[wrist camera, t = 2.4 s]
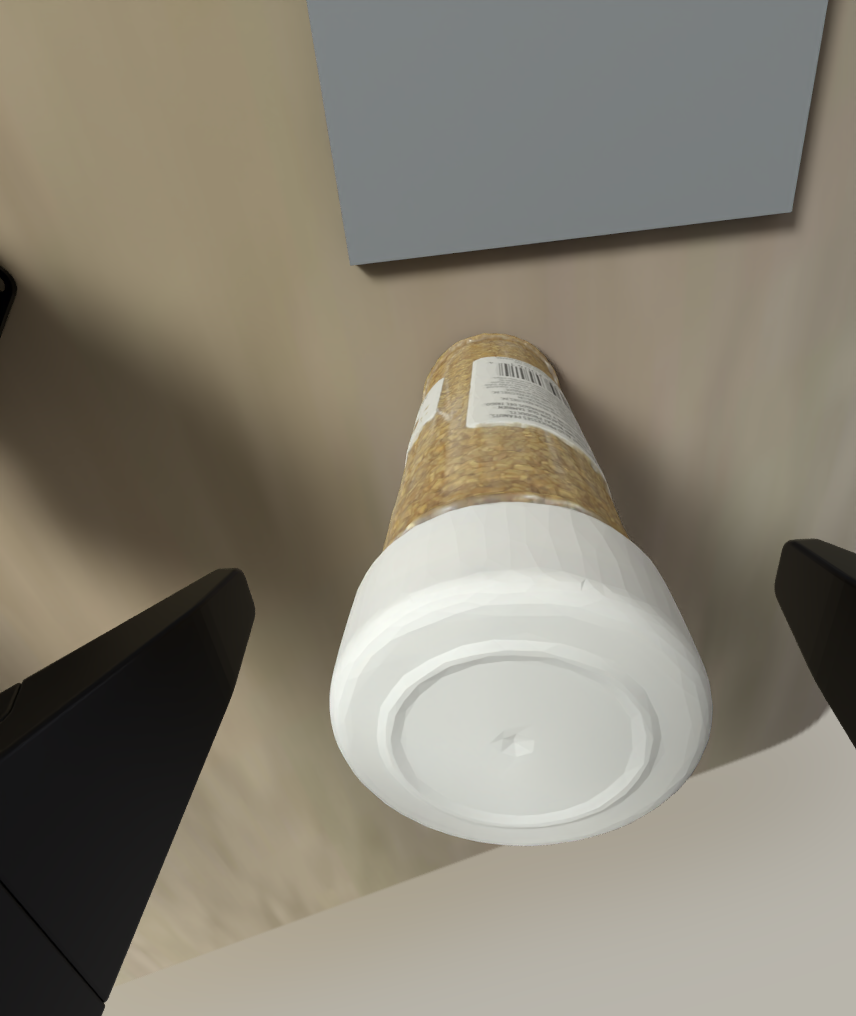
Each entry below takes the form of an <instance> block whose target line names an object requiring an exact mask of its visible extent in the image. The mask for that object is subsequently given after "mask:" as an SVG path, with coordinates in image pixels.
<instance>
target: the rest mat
mask: <svg viewBox="0 0 856 1016" xmlns="http://www.w3.org/2000/svg"><path fill="white" fill-rule="evenodd" d="M306 1H307V7H308V13H309V19H310V25H311V31H312V37H313V43H314V49H315V55H316V61H317V67H318V73H319V79H320V85H321V91H322V97H323V103H324V109H325V115H326V121H327V128H328V134H329V140H330V146H331V152H332V158H333V164H334V170H335V176H336V182H337V188H338V194H339V200H340V206H341V212H342V218H343V224H344V230H345V236H346V242H347V248H348V254H349V260H350V266H351V265H360V264H368V263H376V262H384V261H393V260H401V259H409V258H417V257H426V256H434V255H442V254H450V253H458V252H467V251H475V250H483V249H491V248H500V247H508V246H516V245H524V244H533V243H541V242H549V241H557V240H565V239H574V238H582V237H590V236H598V235H607V234H615V233H623V232H631V231H639V230H648V229H656V228H664V227H672V226H681V225H689V224H697V223H705V222H714V221H722V220H730V219H738V218H746V217H755V216H763V215H771V214H779V213H788V212H792V207H793V201H794V195H795V190H796V184H797V178H798V172H799V167H800V161H801V155H802V149H803V143H804V138H805V132H806V126H807V120H808V114H809V109H810V103H811V97H812V91H813V86H814V80H815V74H816V68H817V62H818V57H819V51H820V45H821V39H822V34H823V28H824V22H825V16H826V10H827V5H828V0H306Z"/></svg>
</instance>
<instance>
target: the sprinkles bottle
mask: <svg viewBox="0 0 856 1016" xmlns="http://www.w3.org/2000/svg"><path fill="white" fill-rule="evenodd" d="M712 712H713V704H712V697H711V690H710V683H709V679H708V676H707V673H706V670H705V667H704V665H703V662H702V660H701V658H700V655H699V653H698V651H697V648H696V646H695V644H694V641H693V639H692V637H691V635H690V632H689V630H688V628H687V626H686V624H685V622H684V620H683V617H682V615H681V613H680V611H679V609H678V607H677V605H676V603H675V601H674V599H673V597H672V595H671V593H670V591H669V589H668V587H667V585H666V583H665V582H664V580H663V578H662V576H661V575H660V573H659V571H658V570H657V568H656V567H655V566H654V564H653V563H652V561H651V560H650V559H649V558H648V557H647V555H646V554H645V553H644V552H643V551H642V550H641V549H640V548H639V547H638V546H637V545H635V544H634V543H633V542H631V541H630V539H629V537H628V536H627V534H626V532H625V530H624V528H623V526H622V524H621V521H620V519H619V517H618V514H617V512H616V510H615V507H614V504H613V500H612V497H611V493H610V490H609V487H608V484H607V482H606V479H605V477H604V474H603V472H602V470H601V468H600V466H599V465H598V463H597V461H596V459H595V457H594V455H593V452H592V450H591V448H590V446H589V444H588V442H587V441H586V439H585V437H584V435H583V433H582V431H581V429H580V426H579V424H578V422H577V420H576V418H575V416H574V414H573V412H572V410H571V408H570V406H569V404H568V402H567V400H566V398H565V396H564V395H563V393H562V391H561V388H560V384H559V380H558V378H557V375H556V372H555V370H554V368H553V367H552V365H551V364H550V363H549V362H548V360H547V358H546V357H545V356H544V355H543V354H542V353H541V352H540V351H539V350H538V349H537V348H536V347H535V346H533V345H532V344H530V343H529V342H527V341H525V340H522V339H519V338H517V337H515V336H511V335H507V334H486V333H484V334H480V335H477V336H474V337H469V338H467V339H464V340H461V341H459V342H457V343H455V344H454V345H453V346H451V347H450V348H449V349H448V350H447V351H446V352H445V353H444V354H443V355H442V356H441V357H440V358H439V359H438V360H437V362H436V364H435V366H434V367H433V368H432V370H431V372H430V374H429V375H428V377H427V379H426V382H425V385H424V390H423V400H422V405H421V407H420V409H419V412H418V416H417V419H416V422H415V426H414V429H413V433H412V437H411V440H410V443H409V447H408V450H407V455H406V461H405V470H404V474H403V478H402V481H401V486H400V490H399V494H398V497H397V500H396V504H395V507H394V509H393V512H392V516H391V521H390V524H389V531H388V534H387V537H386V540H385V543H384V548H383V552H382V553H381V555H380V556H379V557H378V558H377V559H376V560H375V561H374V563H373V564H372V565H371V567H370V568H369V570H368V571H367V573H366V575H365V577H364V578H363V580H362V582H361V584H360V586H359V588H358V590H357V593H356V596H355V599H354V602H353V605H352V608H351V611H350V615H349V618H348V621H347V625H346V628H345V631H344V634H343V638H342V641H341V645H340V648H339V652H338V656H337V660H336V664H335V667H334V672H333V676H332V681H331V689H330V716H331V724H332V728H333V732H334V736H335V739H336V742H337V744H338V747H339V749H340V751H341V753H342V755H343V757H344V758H345V760H346V762H347V763H348V765H349V766H350V768H351V769H352V771H353V772H354V774H355V775H356V776H357V778H358V779H359V780H360V781H361V782H362V783H363V784H364V785H365V786H366V787H367V788H368V789H369V790H370V791H371V792H372V793H374V794H375V795H376V796H377V797H378V798H379V799H380V800H382V801H383V802H384V803H385V804H386V805H388V806H389V807H391V808H393V809H394V810H396V811H397V812H399V813H400V814H402V815H404V816H406V817H408V818H410V819H412V820H414V821H416V822H418V823H420V824H422V825H424V826H426V827H429V828H431V829H434V830H437V831H440V832H443V833H446V834H449V835H452V836H456V837H460V838H464V839H468V840H472V841H477V842H484V843H490V844H499V845H508V846H539V845H552V844H559V843H565V842H572V841H578V840H582V839H586V838H590V837H594V836H597V835H601V834H604V833H607V832H610V831H613V830H616V829H619V828H621V827H623V826H626V825H628V824H630V823H632V822H634V821H635V820H637V819H639V818H641V817H642V816H644V815H646V814H648V813H649V812H651V811H652V810H654V809H655V808H657V807H659V806H660V805H661V804H662V803H663V802H665V801H666V800H667V799H668V798H670V797H671V796H672V795H673V794H675V793H676V792H677V791H678V790H679V788H680V787H681V786H682V785H683V784H684V783H685V782H686V780H687V779H688V778H689V777H690V776H691V775H692V773H693V771H694V770H695V768H696V766H697V765H698V763H699V761H700V759H701V757H702V754H703V752H704V750H705V748H706V745H707V743H708V740H709V735H710V730H711V725H712Z"/></svg>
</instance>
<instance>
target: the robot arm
mask: <svg viewBox="0 0 856 1016" xmlns="http://www.w3.org/2000/svg"><path fill="white" fill-rule="evenodd" d="M0 278H1V279H2V280H3V281H4V284H5V290H4V291H1V290H0V337H1V334H2V332H3V329H4V326H5V323H6V321H7V318H8V315H9V312H10V310H11V307H12V304H13V301H14V299H15V296H16V293H17V286H16V282H15V280H14V278H13V277H12V275H11V274H10V273H9V272H8V271H7V270H5V269H4V268H2V267H1V266H0ZM775 594H776V598H777V600H778V602H779V605H780V607H781V609H782V611H783V613H784V616H785V618H786V620H787V622H788V624H789V626H790V629H791V631H792V633H793V635H794V637H795V640H796V642H797V644H798V646H799V648H800V650H801V653H802V655H803V657H804V659H805V661H806V663H807V666H808V668H809V670H810V672H811V674H812V676H813V678H814V680H815V682H816V683H817V685H818V687H819V689H820V690H821V692H822V694H823V696H824V697H825V699H826V701H827V702H828V704H829V705H830V707H831V709H832V710H833V712H834V714H835V715H836V717H837V719H838V720H839V722H840V724H841V725H842V727H843V729H844V730H845V732H846V733H847V735H848V737H849V739H850V740H851V742H852V743H853V745H854V747H855V748H856V553H853V552H851V551H848V550H845V549H843V548H840V547H838V546H835V545H832V544H830V543H827V542H824V541H822V540H819V539H796V540H789V541H788V542H786V543H785V545H784V546H783V549H782V552H781V557H780V561H779V566H778V570H777V575H776V579H775ZM254 618H255V606H254V602H253V599H252V596H251V593H250V590H249V587H248V584H247V581H246V578H245V575H244V573H243V572H242V570H240V569H238V568H228V569H217V570H215V571H213V572H211V573H210V574H208V575H206V576H204V577H203V578H201V579H199V580H197V581H196V582H194V583H192V584H190V585H189V586H187V587H185V588H183V589H182V590H180V591H178V592H176V593H175V594H173V595H171V596H169V597H168V598H166V599H164V600H162V601H161V602H159V603H157V604H155V605H154V606H152V607H150V608H148V609H147V610H145V611H143V612H141V613H140V614H138V615H136V616H134V617H133V618H131V619H129V620H127V621H126V622H124V623H122V624H120V625H119V626H117V627H115V628H113V629H112V630H110V631H108V632H106V633H105V634H103V635H101V636H99V637H98V638H96V639H94V640H92V641H91V642H89V643H87V644H85V645H84V646H82V647H80V648H78V649H77V650H75V651H73V652H71V653H70V654H68V655H66V656H64V657H63V658H61V659H59V660H57V661H56V662H54V663H52V664H50V665H49V666H47V667H45V668H43V669H42V670H40V671H38V672H36V673H35V674H33V675H31V676H29V677H28V678H26V679H24V680H23V682H22V684H21V683H17V684H15V685H13V686H12V687H10V688H8V689H6V690H5V691H3V692H1V693H0V1016H101V1015H102V1013H103V1011H104V1008H105V1004H104V1002H106V1001H107V1000H108V998H109V995H110V993H111V990H112V988H113V985H114V983H115V980H116V978H117V976H118V973H119V971H120V968H121V966H122V963H123V961H124V958H125V956H126V954H127V951H128V949H129V946H130V944H131V941H132V939H133V936H134V934H135V932H136V929H137V927H138V924H139V922H140V919H141V917H142V914H143V912H144V910H145V907H146V905H147V902H148V900H149V897H150V895H151V892H152V890H153V888H154V885H155V883H156V880H157V878H158V875H159V873H160V870H161V868H162V866H163V863H164V861H165V858H166V856H167V853H168V851H169V848H170V846H171V844H172V841H173V839H174V836H175V834H176V831H177V829H178V826H179V824H180V822H181V819H182V817H183V814H184V812H185V809H186V807H187V804H188V802H189V800H190V797H191V795H192V792H193V790H194V787H195V785H196V782H197V780H198V778H199V775H200V773H201V770H202V768H203V765H204V763H205V760H206V758H207V756H208V753H209V751H210V748H211V746H212V743H213V741H214V738H215V736H216V734H217V731H218V729H219V726H220V724H221V721H222V719H223V717H224V714H225V712H226V709H227V707H228V704H229V702H230V699H231V696H232V694H233V691H234V688H235V685H236V681H237V678H238V674H239V671H240V667H241V664H242V660H243V657H244V653H245V650H246V646H247V643H248V639H249V636H250V632H251V629H252V625H253V622H254Z"/></svg>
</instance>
